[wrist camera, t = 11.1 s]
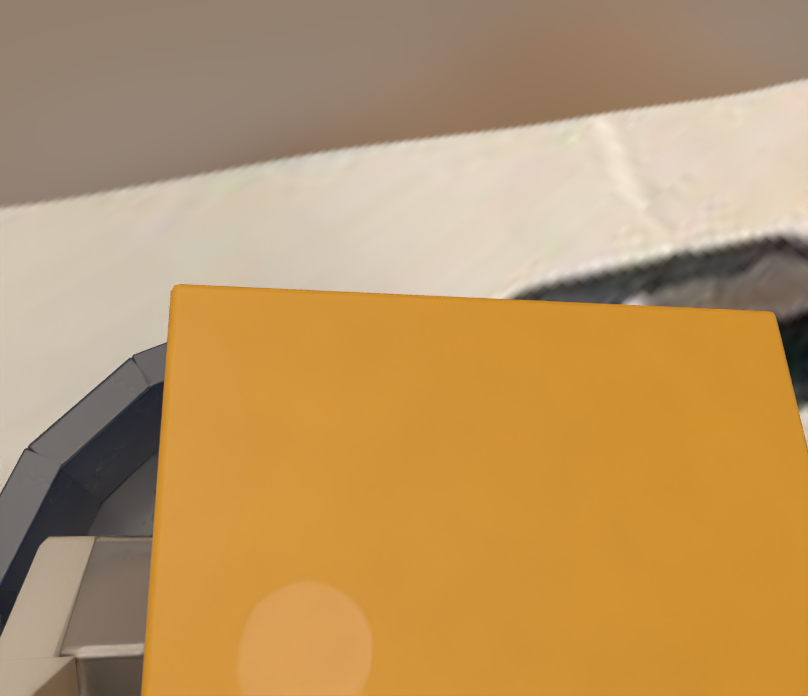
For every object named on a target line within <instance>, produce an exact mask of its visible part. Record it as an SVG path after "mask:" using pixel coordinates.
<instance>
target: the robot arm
mask: <svg viewBox="0 0 808 696" xmlns="http://www.w3.org/2000/svg"><path fill="white" fill-rule="evenodd" d="M152 539H153V536H99V537H96V536H63V537H48V538H47V539H46V540H45V541H44V542H43V543H42V544H41V545H40V546H39V548H38V550H37V553H36V555H35V557H34V560H33V562H32V564H31V567H30V569H29V572H28V574H27V576H26V579H25V581H24V583H23V586H22V588H21V590H20V593H19V595H18V597H17V600H16V602H15V604H14V607H13V609H12V612H11V614H10V616H9V619H8V621H7V623H6V626H5V628H4V630H3V633H2V635H1V637H0V696H141V686H142V672H143V659H144V646H145V632H146V619H147V605H148V592H149V579H150V565H151V552H152Z"/></svg>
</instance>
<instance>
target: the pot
mask: <svg viewBox="0 0 808 696" xmlns="http://www.w3.org/2000/svg"><path fill="white" fill-rule="evenodd" d="M166 351H167V343H164V344H161V345H158V346H156V347H153V348H150V349H148V350H145V351H142V352H140V353H137V354H134V355H133V356H132V358H129V359H128V360H127V361H125V362H124V363H123V364H122V365H121V366H120V367H119V368H117V369H116V370H115V371H114V372H113V373H112V374H110V375H109V376H108V377H107V378H106V379H105V380H104V381H102V382H101V383H100V384H99V385H98V386H97V387H95V388H94V389H93V390H92V391H91V392H90V393H88V394H87V395H86V396H85V397H84V398H83V399H82V400H80V401H79V402H78V403H77V404H76V405H75V406H73V407H72V408H71V409H70V410H69V411H68V412H67V413H65V414H64V415H63V416H62V417H61V418H60V419H58V420H57V421H56V422H55V423H54V424H53V425H52V426H50V427H49V428H48V429H47V430H46V431H45V432H43V433H42V434H41V435H40V436H39V437H38V438H36V439H35V440H34V441H33V442H32V443H31V444H30V445H29V446H28V448H26V449H25V450H24V451H23V453H22V455H21V457H20V458H19V460H18V462H17V464H16V466H15V468H14V469H13V471H12V473H11V475H10V477H9V479H8V480H7V482H6V484H5V486H4V488H3V490H2V491H1V493H0V637H1V635H2V633H3V630H4V628H5V626H6V623H7V621H8V619H9V616H10V614H11V612H12V609H13V607H14V604H15V602H16V600H17V597H18V595H19V593H20V590H21V588H22V586H23V583H24V581H25V579H26V576H27V574H28V572H29V569H30V567H31V564H32V562H33V560H34V557H35V555H36V553H37V550H38V548H39V546H40V545H41V544H42V543H43V542H44V541H45V540H46V539H47V538H48V537H63V536H96V537H99V536H153V525H154V512H155V498H156V485H157V472H158V458H159V445H160V431H161V418H162V405H163V391H164V378H165V364H166Z"/></svg>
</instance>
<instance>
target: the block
mask: <svg viewBox="0 0 808 696" xmlns="http://www.w3.org/2000/svg"><path fill="white" fill-rule="evenodd" d="M141 696H808V448H807V444H806V440H805V436H804V431H803V427H802V423H801V419H800V415H799V411H798V407H797V402H796V398H795V394H794V390H793V386H792V382H791V378H790V373H789V369H788V365H787V361H786V357H785V353H784V349H783V344H782V340H781V336H780V332H779V328H778V324H777V320H776V316H775V315H774V313H772V312H769V311H748V310H726V309H704V308H683V307H661V306H640V305H618V304H596V303H575V302H553V301H532V300H510V299H488V298H467V297H445V296H424V295H402V294H380V293H359V292H337V291H315V290H294V289H272V288H251V287H229V286H207V285H186V284H179V285H175V286H174V288H173V289H172V291H171V297H170V311H169V324H168V338H167V351H166V364H165V378H164V391H163V405H162V418H161V431H160V445H159V458H158V472H157V485H156V498H155V512H154V525H153V539H152V552H151V565H150V579H149V592H148V605H147V619H146V632H145V646H144V659H143V672H142V686H141Z"/></svg>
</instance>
